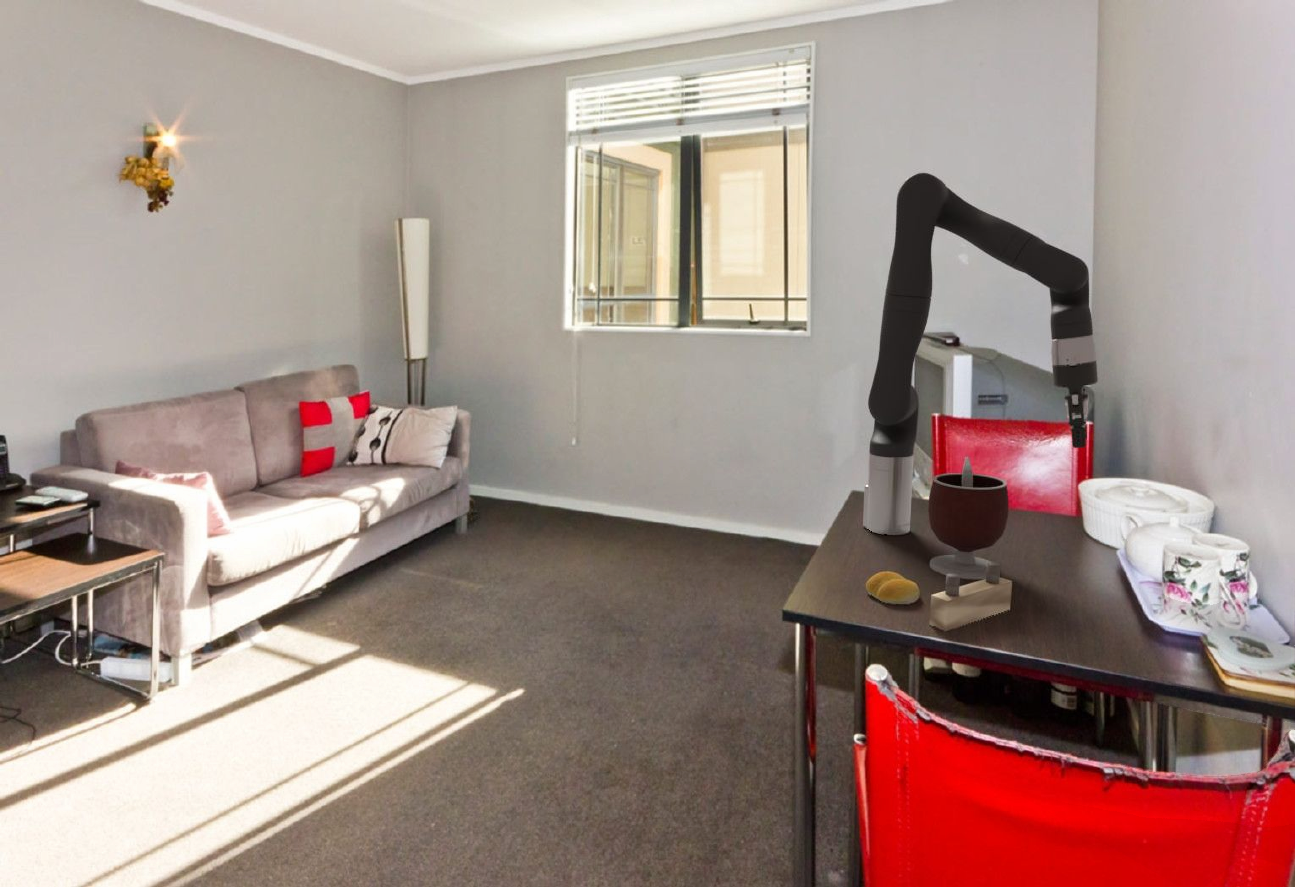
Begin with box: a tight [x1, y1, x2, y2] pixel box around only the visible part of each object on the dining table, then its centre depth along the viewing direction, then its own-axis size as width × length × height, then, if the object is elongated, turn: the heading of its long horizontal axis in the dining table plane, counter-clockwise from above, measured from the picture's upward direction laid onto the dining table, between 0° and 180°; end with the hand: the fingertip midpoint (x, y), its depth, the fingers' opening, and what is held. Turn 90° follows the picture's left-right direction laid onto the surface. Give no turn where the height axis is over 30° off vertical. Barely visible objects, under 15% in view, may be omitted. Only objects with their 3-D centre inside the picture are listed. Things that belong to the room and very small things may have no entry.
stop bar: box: [929, 561, 1013, 632], centre depth 127 cm, size 3×16×8 cm, turn 121°
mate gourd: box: [927, 456, 1010, 580], centre depth 150 cm, size 16×14×20 cm
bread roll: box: [865, 570, 920, 605], centre depth 137 cm, size 8×9×4 cm
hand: (1080, 443), depth 154 cm, fingers open, 8 cm apart
